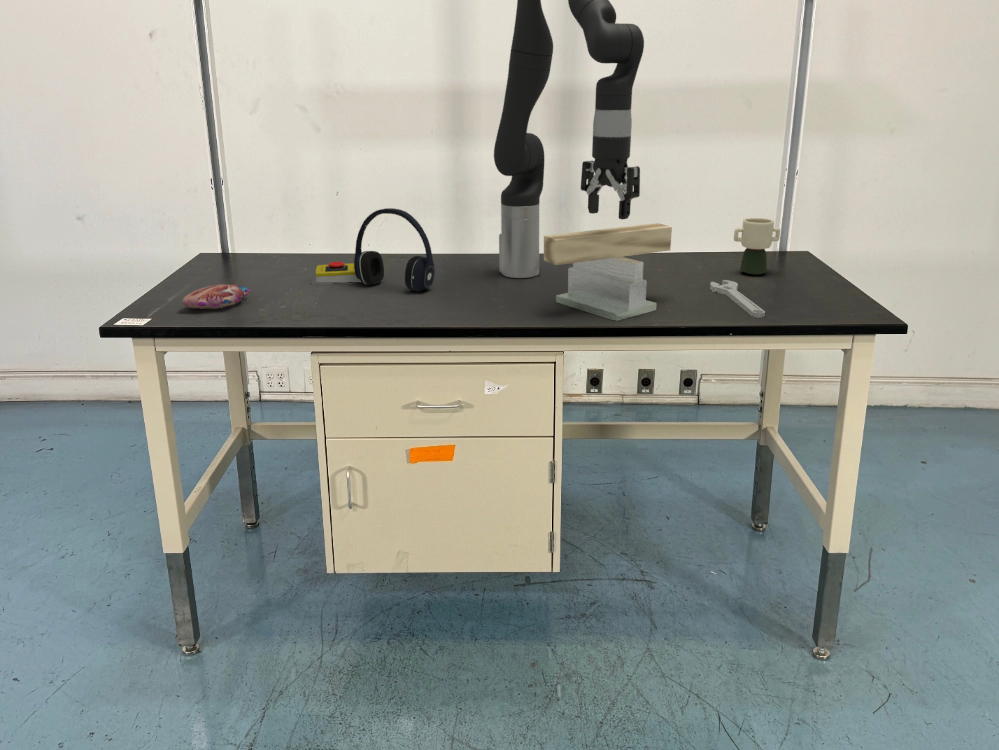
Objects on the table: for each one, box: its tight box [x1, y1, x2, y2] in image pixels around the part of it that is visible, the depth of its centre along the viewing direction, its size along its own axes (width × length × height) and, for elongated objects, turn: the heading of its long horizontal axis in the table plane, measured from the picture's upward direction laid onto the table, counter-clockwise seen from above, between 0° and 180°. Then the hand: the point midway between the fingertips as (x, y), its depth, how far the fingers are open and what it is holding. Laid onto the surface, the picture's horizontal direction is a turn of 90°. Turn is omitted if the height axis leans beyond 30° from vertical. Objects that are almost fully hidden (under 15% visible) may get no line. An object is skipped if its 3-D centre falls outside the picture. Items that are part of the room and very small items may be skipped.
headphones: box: [353, 207, 436, 292], centre depth 184 cm, size 20×7×18 cm, turn 63°
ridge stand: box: [555, 256, 657, 322], centre depth 169 cm, size 18×12×11 cm, turn 39°
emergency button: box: [315, 261, 360, 282], centre depth 195 cm, size 9×4×15 cm
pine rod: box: [543, 222, 673, 266], centre depth 166 cm, size 5×28×5 cm, turn 116°
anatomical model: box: [181, 283, 252, 310], centre depth 175 cm, size 11×6×15 cm
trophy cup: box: [733, 217, 781, 275], centre depth 193 cm, size 11×7×13 cm, turn 89°
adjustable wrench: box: [709, 279, 766, 319], centre depth 174 cm, size 25×6×2 cm, turn 0°
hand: (608, 215), depth 164 cm, fingers open, 8 cm apart
